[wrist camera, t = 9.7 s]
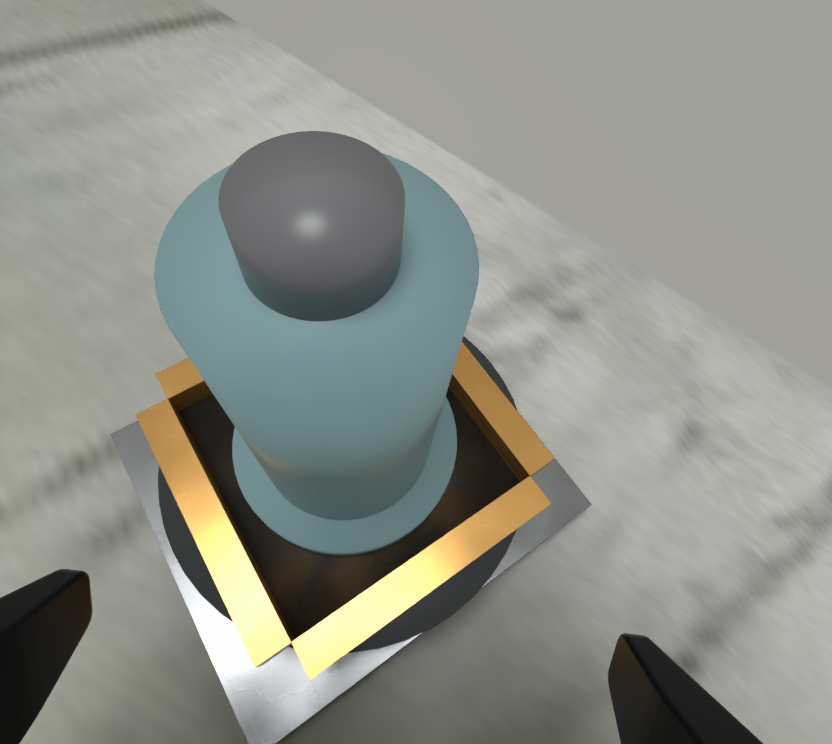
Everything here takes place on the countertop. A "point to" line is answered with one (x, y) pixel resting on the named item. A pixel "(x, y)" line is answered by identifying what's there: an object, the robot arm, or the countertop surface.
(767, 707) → the countertop surface
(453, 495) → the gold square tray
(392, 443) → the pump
